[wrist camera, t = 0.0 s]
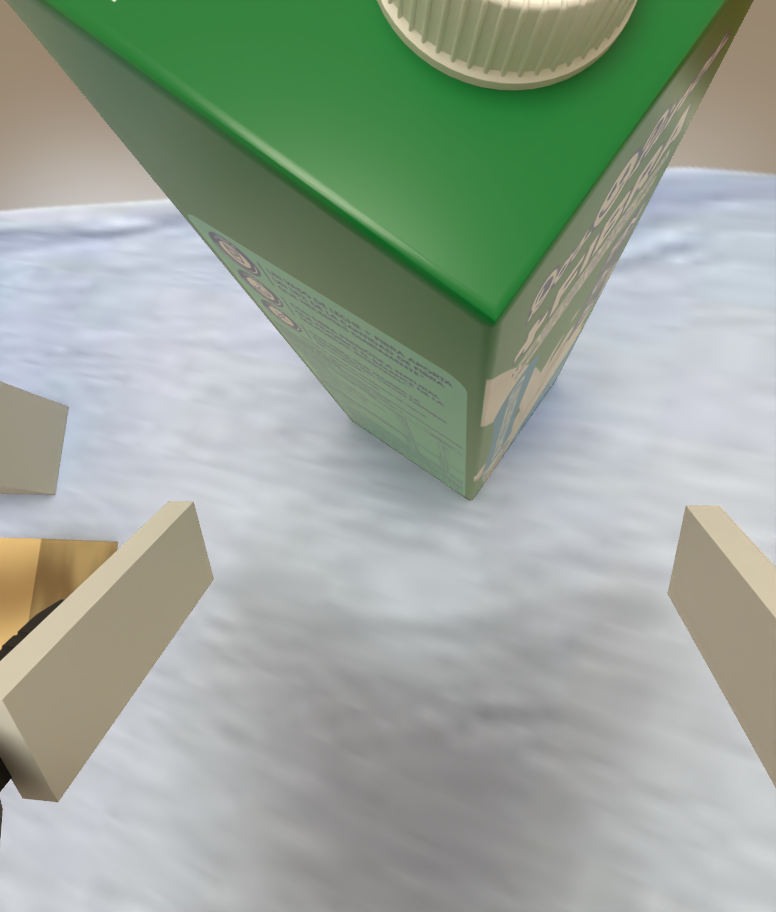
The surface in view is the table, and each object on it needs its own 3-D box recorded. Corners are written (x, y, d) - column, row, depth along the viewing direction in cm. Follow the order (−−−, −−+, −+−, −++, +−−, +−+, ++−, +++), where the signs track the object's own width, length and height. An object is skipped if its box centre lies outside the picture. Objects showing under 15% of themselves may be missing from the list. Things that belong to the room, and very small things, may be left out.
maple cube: (106, 641, 31) (22, 661, 25) (20, 636, 31) (-81, 654, 26) (118, 541, 32) (41, 538, 26) (35, 540, 33) (-58, 536, 27)
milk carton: (471, 501, 29) (509, 212, 5) (349, 418, 31) (-67, -81, 7) (557, 377, 30) (991, -449, 5) (432, 304, 32) (330, -525, 7)
